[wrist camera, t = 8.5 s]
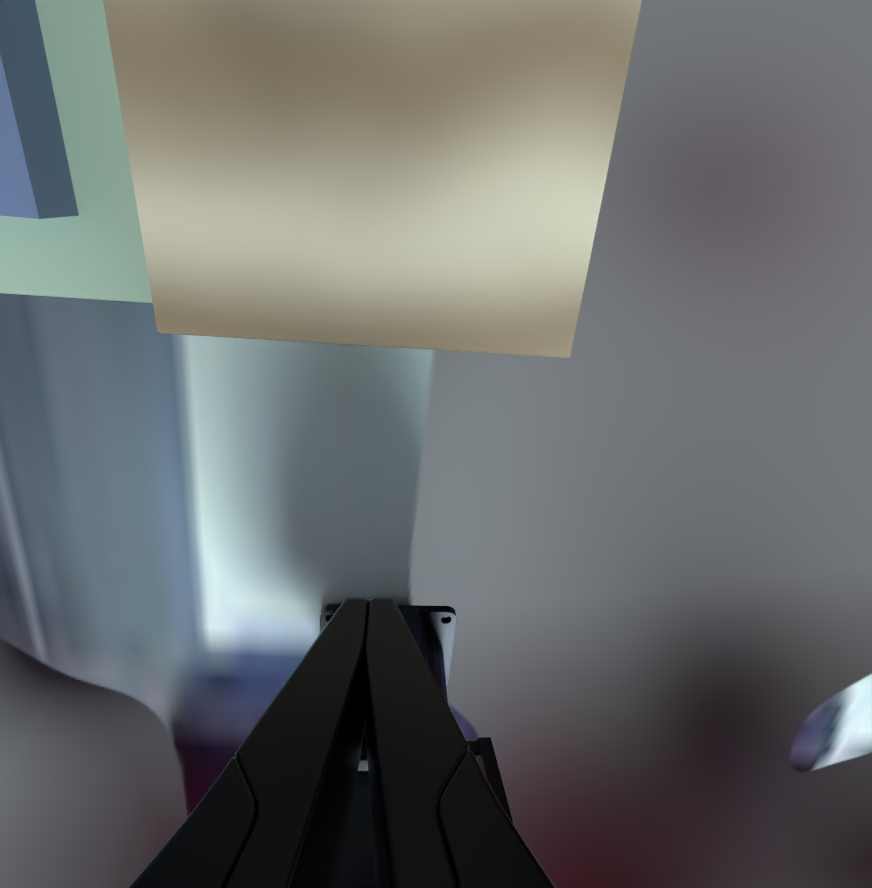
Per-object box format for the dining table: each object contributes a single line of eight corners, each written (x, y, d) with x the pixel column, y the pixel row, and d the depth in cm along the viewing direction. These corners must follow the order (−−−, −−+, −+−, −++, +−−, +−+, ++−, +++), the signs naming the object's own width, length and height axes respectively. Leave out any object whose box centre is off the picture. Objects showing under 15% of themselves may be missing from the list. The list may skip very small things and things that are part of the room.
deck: (538, 326, 19) (569, 357, 15) (205, 304, 18) (157, 332, 14) (621, -169, 13) (702, -301, 10) (140, -246, 12) (33, -426, 9)
